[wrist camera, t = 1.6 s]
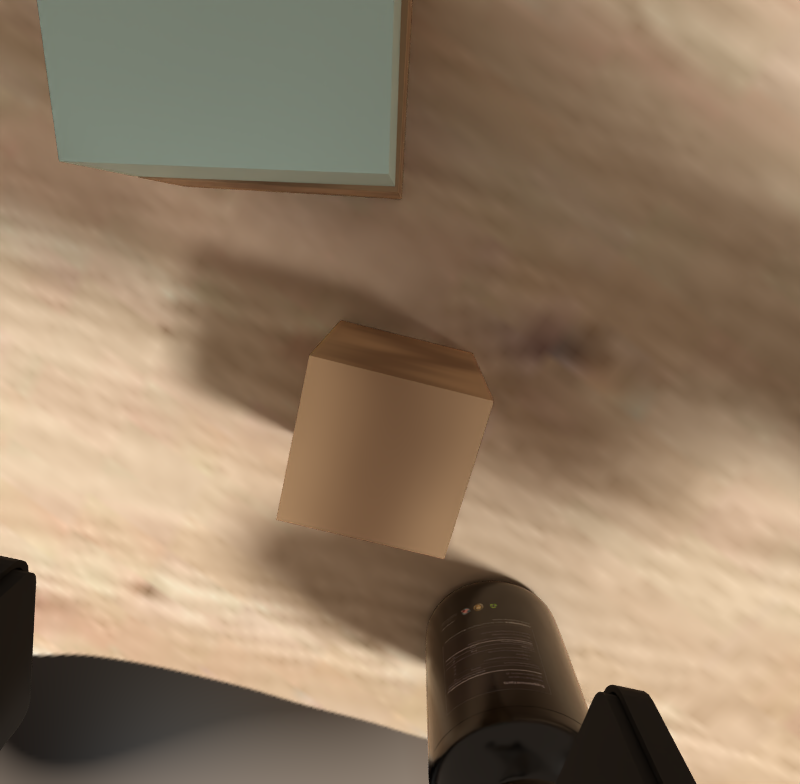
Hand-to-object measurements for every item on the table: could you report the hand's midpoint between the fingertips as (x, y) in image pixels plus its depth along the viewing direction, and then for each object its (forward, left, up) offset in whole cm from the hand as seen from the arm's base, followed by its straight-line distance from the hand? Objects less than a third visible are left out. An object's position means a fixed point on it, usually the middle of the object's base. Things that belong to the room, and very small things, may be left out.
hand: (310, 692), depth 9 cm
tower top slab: (+7, -12, -12) cm, 19 cm away
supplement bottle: (-9, +11, -16) cm, 21 cm away
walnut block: (-1, 0, -16) cm, 16 cm away
